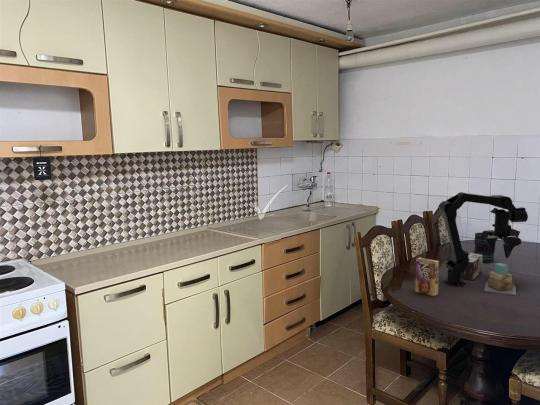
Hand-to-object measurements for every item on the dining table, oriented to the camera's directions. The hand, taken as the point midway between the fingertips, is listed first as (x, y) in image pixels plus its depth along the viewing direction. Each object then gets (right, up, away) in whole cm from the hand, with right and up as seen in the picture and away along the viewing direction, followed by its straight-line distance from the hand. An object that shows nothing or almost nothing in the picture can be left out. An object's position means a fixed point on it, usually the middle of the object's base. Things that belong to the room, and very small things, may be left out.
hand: (499, 255), depth 191 cm
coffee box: (-2, -6, +18) cm, 20 cm away
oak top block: (-4, -10, -8) cm, 13 cm away
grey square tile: (-4, -14, -7) cm, 16 cm away
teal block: (-4, -7, -8) cm, 11 cm away
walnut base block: (-4, -14, -7) cm, 16 cm away
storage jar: (+11, -8, +35) cm, 38 cm away
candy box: (-38, -16, -9) cm, 42 cm away
